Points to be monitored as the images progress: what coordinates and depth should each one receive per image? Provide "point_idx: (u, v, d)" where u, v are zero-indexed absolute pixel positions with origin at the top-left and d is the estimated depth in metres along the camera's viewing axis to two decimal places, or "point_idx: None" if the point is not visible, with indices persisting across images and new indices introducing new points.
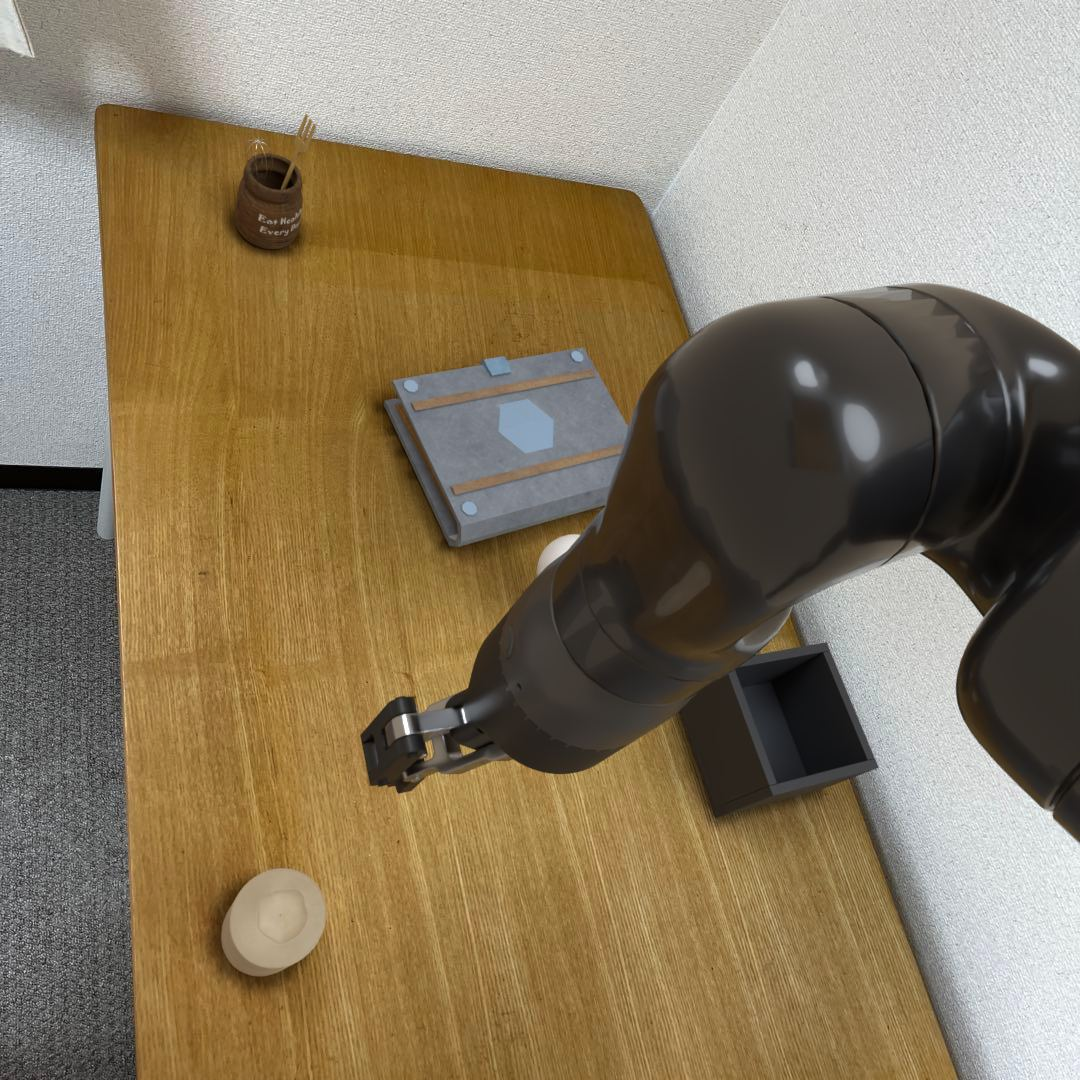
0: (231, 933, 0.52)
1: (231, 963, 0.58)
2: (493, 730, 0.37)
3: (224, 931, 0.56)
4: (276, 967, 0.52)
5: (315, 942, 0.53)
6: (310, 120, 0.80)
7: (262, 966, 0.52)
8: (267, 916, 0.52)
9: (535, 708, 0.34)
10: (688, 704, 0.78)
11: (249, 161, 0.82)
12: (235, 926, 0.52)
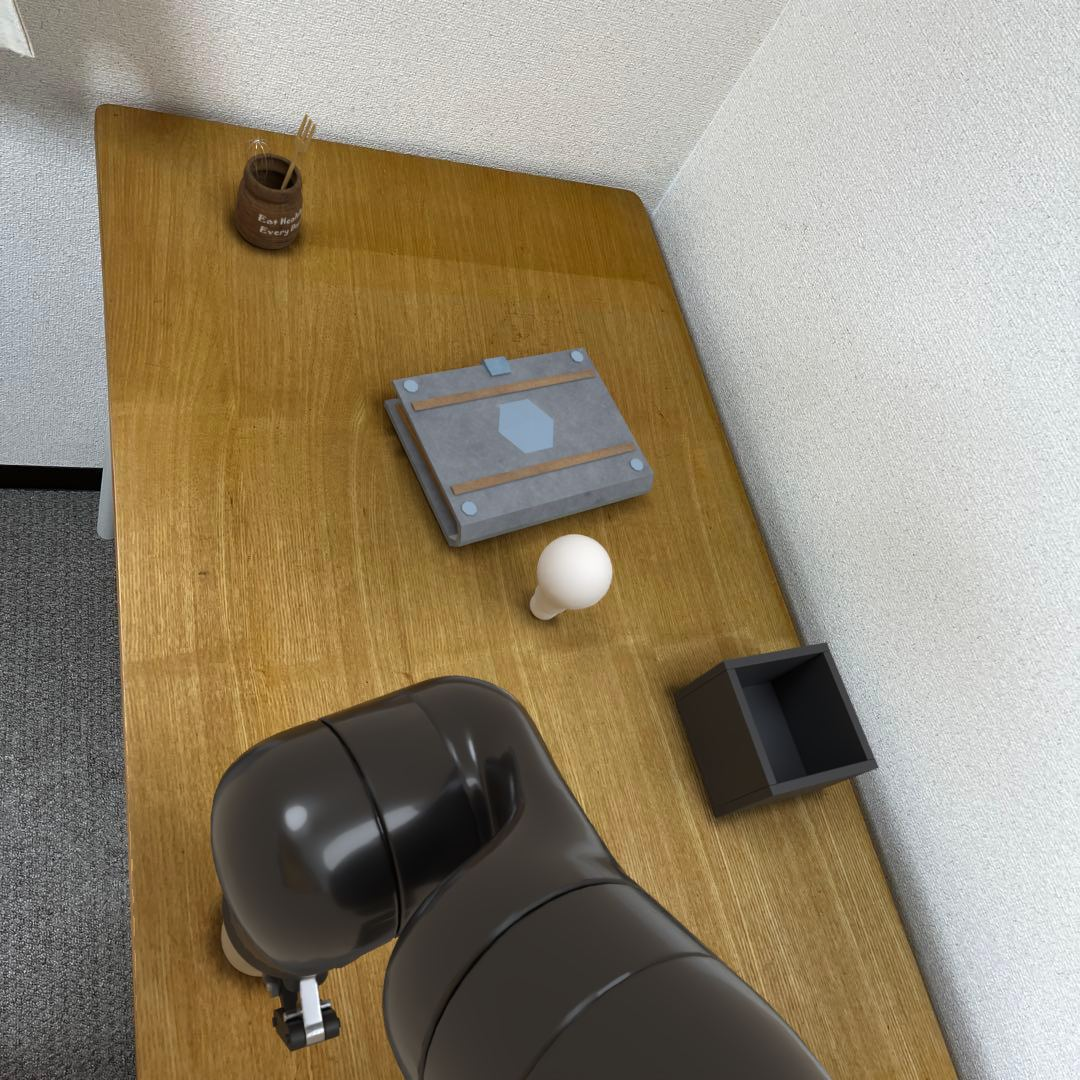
0: None
1: (231, 963, 0.58)
2: None
3: (224, 931, 0.56)
4: None
5: None
6: (310, 120, 0.80)
7: None
8: None
9: None
10: (688, 704, 0.78)
11: (249, 161, 0.82)
12: None
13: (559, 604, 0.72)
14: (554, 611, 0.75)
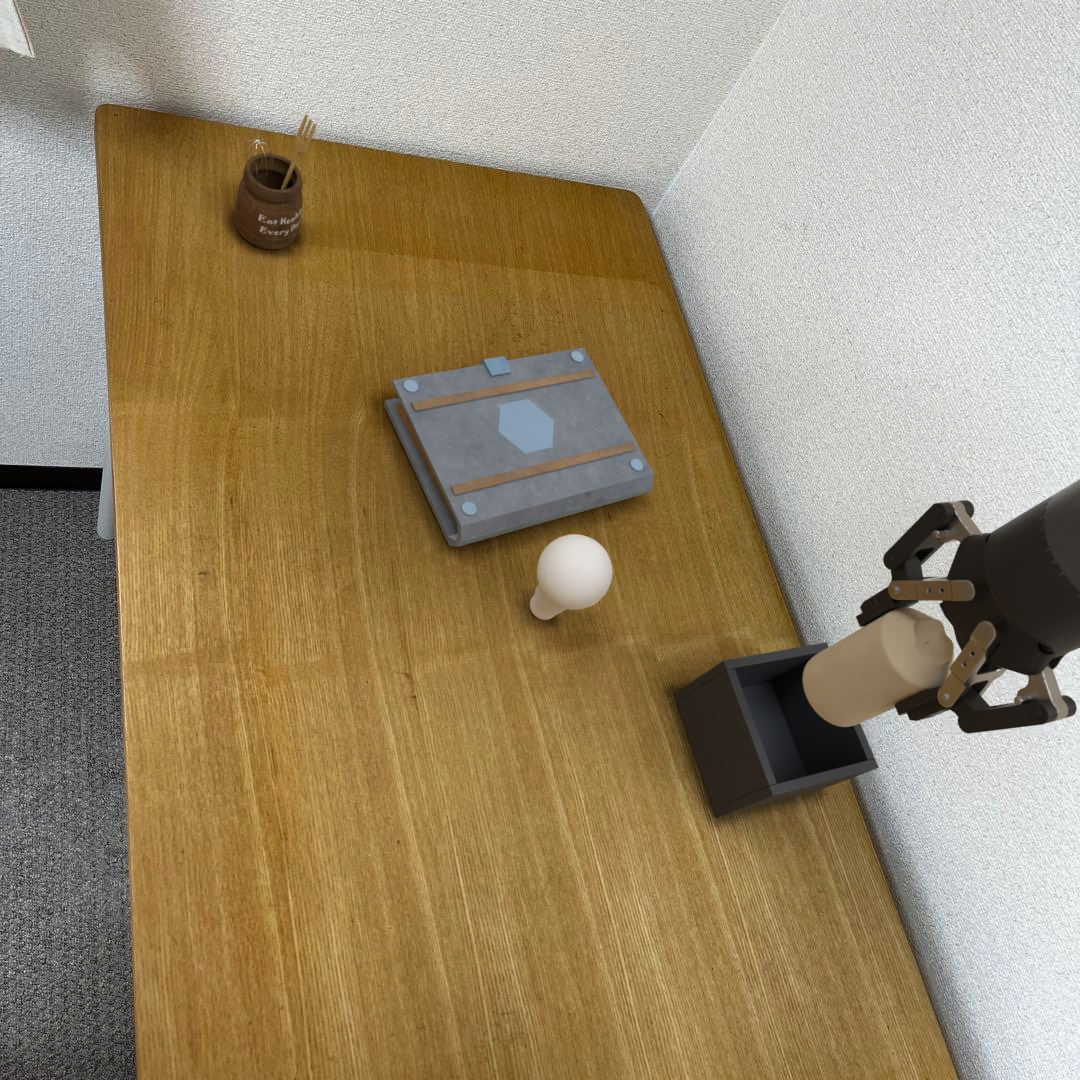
0: (888, 656, 0.56)
1: (824, 711, 0.61)
2: (1003, 525, 0.49)
3: (837, 673, 0.59)
4: (930, 688, 0.56)
5: None
6: (310, 120, 0.80)
7: (919, 686, 0.55)
8: (917, 642, 0.56)
9: (1064, 491, 0.45)
10: (688, 704, 0.78)
11: (249, 161, 0.82)
12: (892, 649, 0.55)
13: (559, 604, 0.72)
14: (554, 611, 0.75)
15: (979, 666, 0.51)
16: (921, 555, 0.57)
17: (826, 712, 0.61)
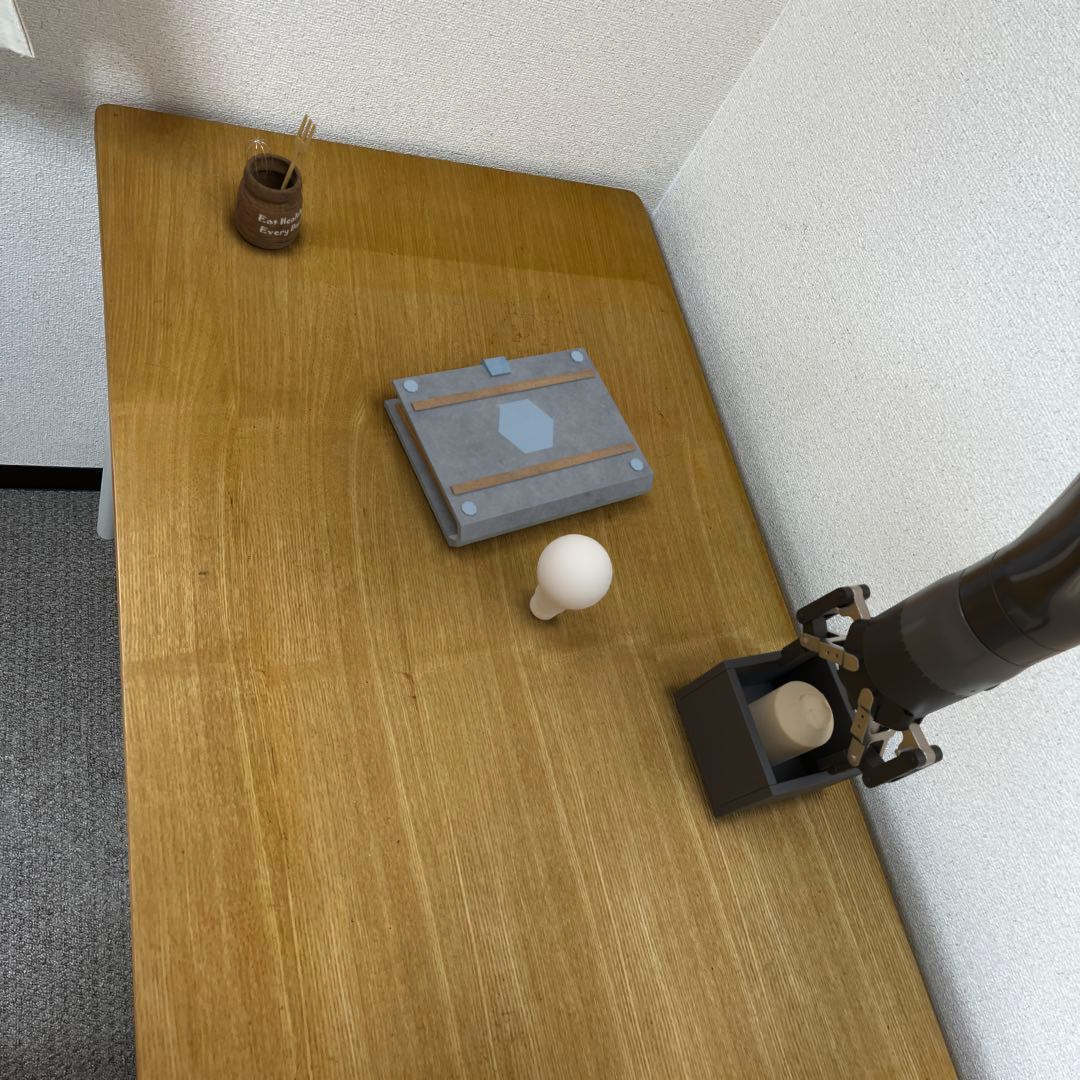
0: (779, 721, 0.72)
1: None
2: (878, 615, 0.63)
3: None
4: (811, 746, 0.72)
5: (831, 731, 0.73)
6: (310, 120, 0.80)
7: (803, 745, 0.71)
8: (802, 710, 0.72)
9: (917, 594, 0.60)
10: (688, 704, 0.78)
11: (249, 161, 0.82)
12: (782, 716, 0.72)
13: (559, 604, 0.72)
14: (554, 611, 0.75)
15: (869, 726, 0.65)
16: (826, 614, 0.71)
17: None
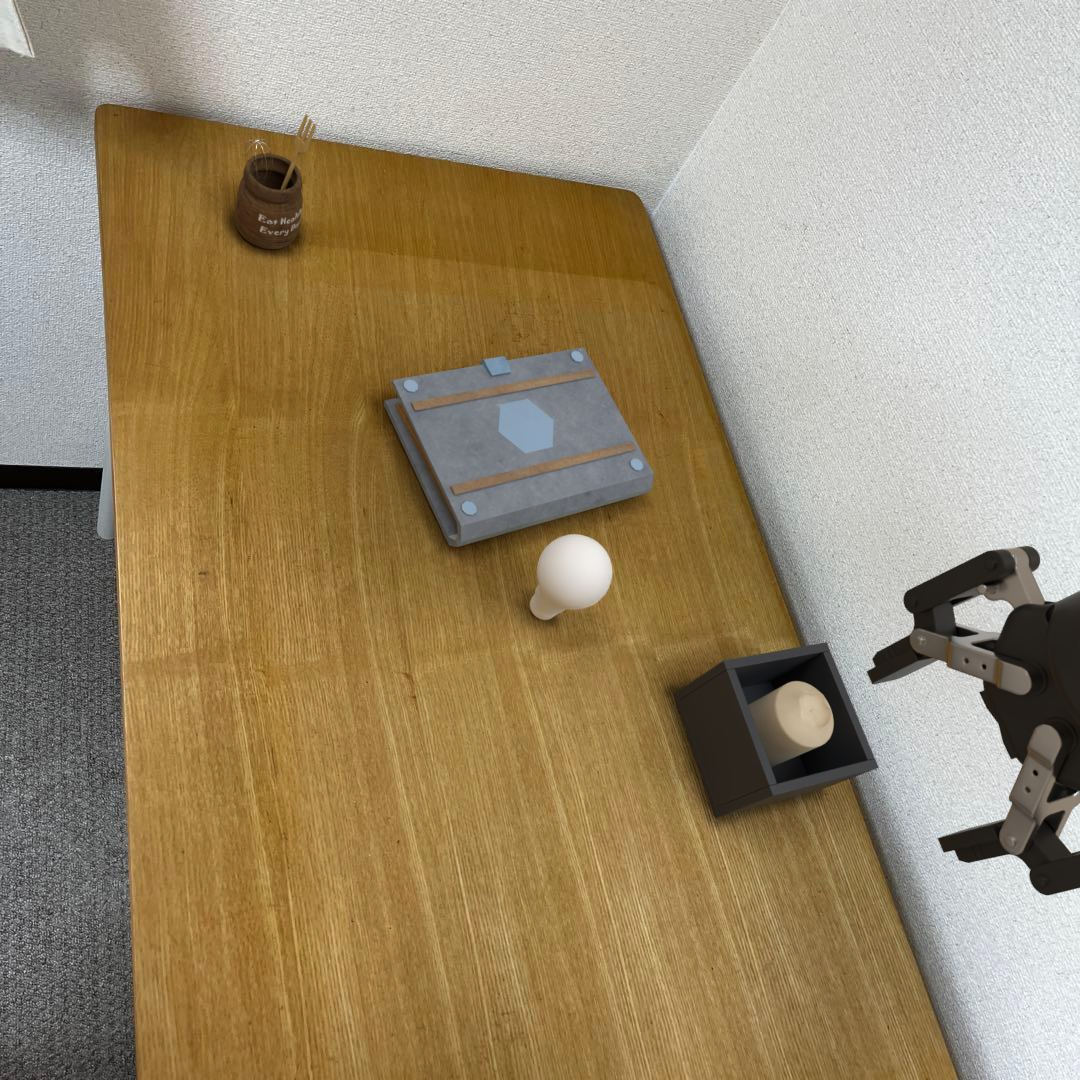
0: (779, 722, 0.72)
1: None
2: (1073, 596, 0.36)
3: None
4: (812, 746, 0.72)
5: (831, 732, 0.73)
6: (310, 120, 0.80)
7: (803, 745, 0.71)
8: (802, 710, 0.72)
9: None
10: (688, 704, 0.78)
11: (249, 161, 0.82)
12: (782, 716, 0.72)
13: (559, 604, 0.72)
14: (554, 611, 0.75)
15: (1048, 790, 0.37)
16: (954, 598, 0.43)
17: None
